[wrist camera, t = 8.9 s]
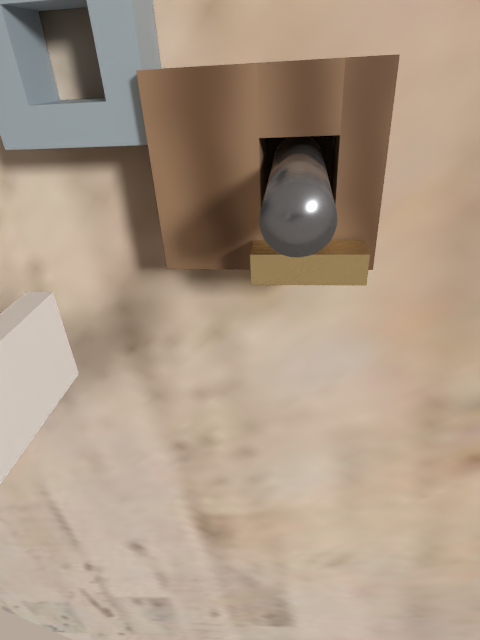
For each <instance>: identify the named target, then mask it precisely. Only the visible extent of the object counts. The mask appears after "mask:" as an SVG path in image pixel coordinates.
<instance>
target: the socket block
mask: <svg viewBox="0 0 480 640" xmlns="http://www.w3.org/2000/svg"><path fill="white" fill-rule="evenodd" d="M398 63H399V55H384V56H367V57H350V58H333V59H317V60H300V61H283V62H267V63H250V64H233V65H217V66H200V67H183V68H167V69H151V70H136V73H137V79H138V85H139V92H140V98H141V105H142V111H143V118H144V124H145V130H146V137H147V143H148V150H149V156H150V163H151V169H152V176H153V182H154V188H155V195H156V201H157V208H158V214H159V221H160V227H161V234H162V240H163V246H164V253H165V259H166V266H167V269H251V267H250V253H251V249H252V245H253V241H254V240H264V238H263V236H262V233H261V230H260V224H259V217H260V212H261V208H262V204H263V200H264V196H265V192H266V165H265V138H275V137H302V136H329V135H333V147H332V163H331V180H330V186H331V190H332V194H333V198H334V202H335V206H336V210H337V227H336V230H335V233H334V235H333V237H332V239H331V240H365V242H366V245H367V248H368V251H369V253H370V259H369V267H368V270H373V264H374V256H375V248H376V240H377V232H378V224H379V216H380V208H381V200H382V192H383V184H384V175H385V167H386V159H387V151H388V143H389V135H390V127H391V119H392V111H393V103H394V95H395V87H396V79H397V71H398Z"/></svg>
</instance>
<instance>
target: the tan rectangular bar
mask: <svg viewBox="0 0 480 640" xmlns="http://www.w3.org/2000/svg"><path fill="white" fill-rule="evenodd" d="M369 259H370V253H369V251H368V248H367V245H366V242H365V240H330V241H329V243H328V244H327V245H326V246H325V247H324V248H323V249H321V250H320V251H318V252H317V253H315V254H312V255H309V256H306V257H288V256H285V255H282V254H280V253H278V252H276V251H275V250H273V249H272V248H271V247H270V246H269V245H268V244H267V243H266V241H265V240H254V241H253V245H252V249H251V253H250V267H251V285H366V284H367V275H368V267H369Z"/></svg>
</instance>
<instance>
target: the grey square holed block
mask: <svg viewBox="0 0 480 640" xmlns="http://www.w3.org/2000/svg"><path fill="white" fill-rule="evenodd" d="M85 7H88V11H89V16H90V21H91V26H92V31H93V37H94V42H95V47H96V52H97V57H98V62H99V68H100V73H101V78H102V83H103V88H104V93H105V98H93V99H74V100H60V98H59V94H58V90H57V86H56V82H55V78H54V74H53V70H52V66H51V62H50V57H49V53H48V49H47V45H46V41H45V37H44V33H43V29H42V25H41V21H40V17H39V12H38V11H48V10H61V9H73V8H85ZM151 69H161V63H160V56H159V48H158V40H157V32H156V25H155V17H154V9H153V1H152V0H0V135H1V139H2V142H3V145H4V148H5V150H22V149H50V148H78V147H105V146H133V145H148V143H147V137H146V130H145V124H144V118H143V111H142V105H141V98H140V92H139V85H138V79H137V73H136V70H151Z"/></svg>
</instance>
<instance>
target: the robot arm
mask: <svg viewBox="0 0 480 640" xmlns="http://www.w3.org/2000/svg"><path fill="white" fill-rule="evenodd" d="M78 374H79V373H78V370H77V367H76V363H75V360H74V357H73V354H72V351H71V348H70V344H69V341H68V338H67V335H66V332H65V329H64V326H63V322H62V319H61V316H60V313H59V310H58V307H57V303H56V300H55V297H54V294H53V292H25V293H24V294H23V295H22V296H21V297H19V298H18V299H17V300H16V301H15V302H13V303H12V304H11V305H10V306H9V307H7V308H6V309H5V310H4V311H3V312H2V313H0V484H1V482H2V481H3V480H4V478H5V477H6V475H7V474H8V473H9V471H10V470H11V468H12V467H13V466H14V464H15V463H16V461H17V460H18V459H19V457H20V456H21V454H22V453H23V451H24V450H25V449H26V447H27V446H28V444H29V443H30V442H31V440H32V439H33V437H34V436H35V435H36V433H37V432H38V430H39V429H40V428H41V426H42V425H43V423H44V422H45V421H46V419H47V418H48V416H49V415H50V414H51V412H52V411H53V409H54V408H55V407H56V405H57V404H58V402H59V401H60V400H61V398H62V397H63V395H64V394H65V393H66V391H67V390H68V388H69V387H70V386H71V384H72V383H73V381H74V380H75V379H76V377H77V376H78Z"/></svg>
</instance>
